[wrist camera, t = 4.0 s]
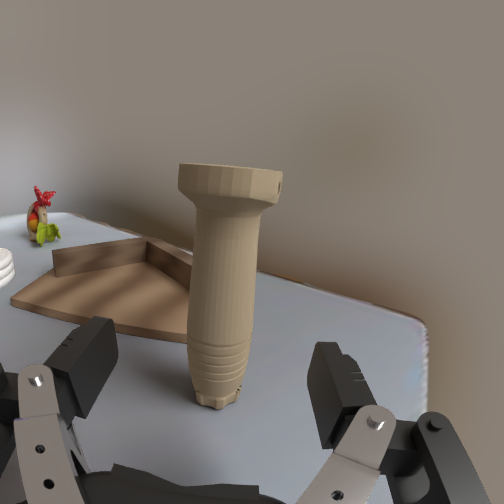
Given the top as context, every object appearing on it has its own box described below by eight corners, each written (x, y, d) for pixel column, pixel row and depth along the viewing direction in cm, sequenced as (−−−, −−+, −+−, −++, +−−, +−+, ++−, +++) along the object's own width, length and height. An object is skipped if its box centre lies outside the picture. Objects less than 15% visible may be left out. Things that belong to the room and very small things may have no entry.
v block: (12, 305, 23) (5, 272, 22) (83, 255, 40) (81, 231, 39) (221, 347, 24) (224, 307, 23) (231, 272, 42) (233, 245, 40)
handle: (259, 376, 21) (288, 172, 17) (237, 437, 15) (269, 171, 11) (200, 361, 22) (211, 164, 18) (164, 414, 16) (157, 162, 12)
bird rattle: (23, 256, 41) (44, 243, 39) (9, 201, 39) (29, 182, 37) (45, 247, 47) (69, 235, 45) (32, 196, 45) (54, 179, 43)
